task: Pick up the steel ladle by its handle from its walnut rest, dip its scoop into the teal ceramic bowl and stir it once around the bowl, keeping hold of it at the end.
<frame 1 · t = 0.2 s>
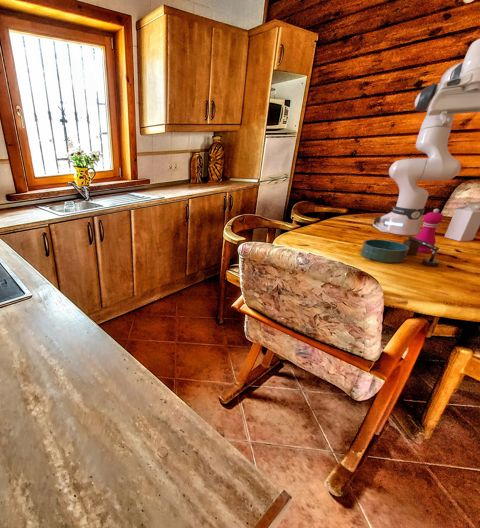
hand: (464, 123, 95), 54 cm above the table, tool tilted 30°, fingers open, 8 cm apart
ladle: (429, 265, 116), on the table, touching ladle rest
bowl: (381, 257, 126), on the table
milk carton: (457, 239, 142), on the table
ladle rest: (407, 254, 127), on the table
pepper mill: (420, 251, 130), on the table
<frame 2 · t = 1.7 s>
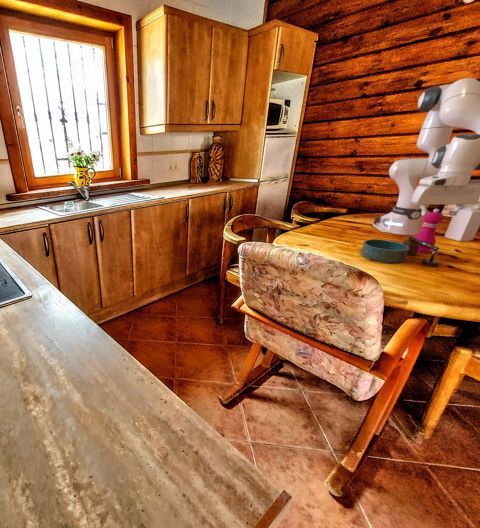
hand: (438, 215, 112), 20 cm above the table, tool pointing down, fingers open, 8 cm apart
nothing on the table moved.
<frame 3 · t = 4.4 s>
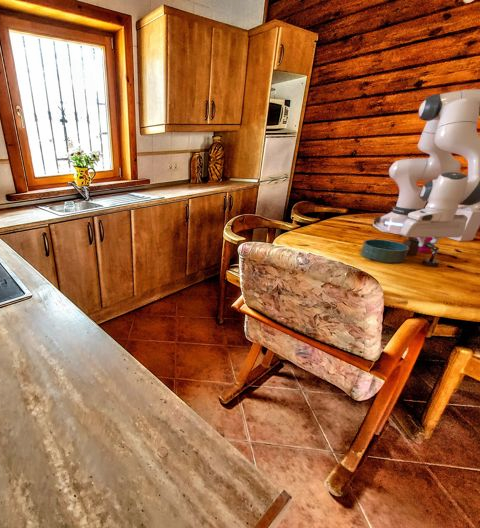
hand: (425, 246, 118), 6 cm above the table, tool pointing down, fingers closed on ladle
ladle: (429, 264, 116), on the table, touching gripper
everything else where it was.
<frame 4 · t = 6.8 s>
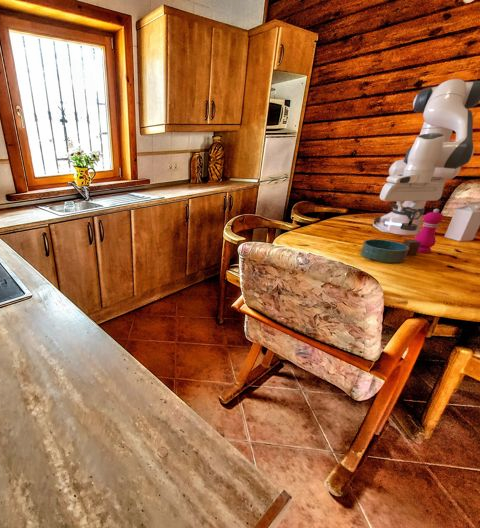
hand: (404, 211, 118), 21 cm above the table, tool pointing down, fingers closed on ladle
ladle: (408, 229, 115), point 15 cm above the table, touching gripper
everything else where it was.
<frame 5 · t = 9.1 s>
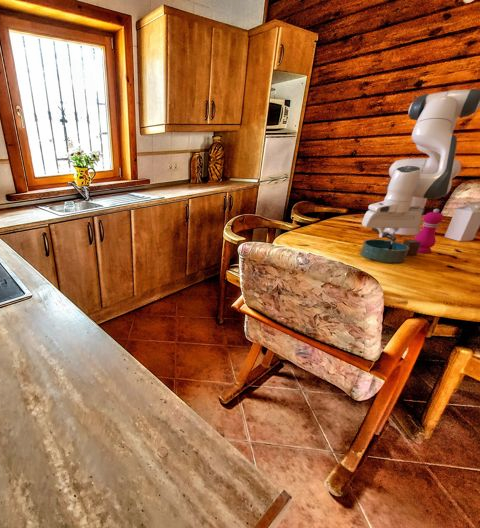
hand: (385, 237, 124), 9 cm above the table, tool pointing down, fingers closed on ladle
ladle: (388, 254, 122), point 2 cm above the table, touching gripper
everything else where it was.
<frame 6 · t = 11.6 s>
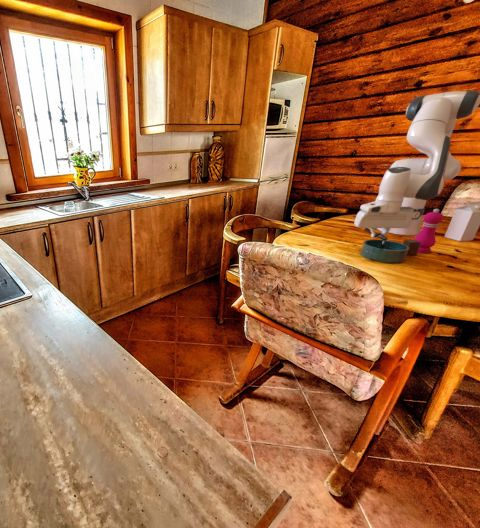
hand: (377, 237, 126), 9 cm above the table, tool pointing down, fingers closed on ladle
ladle: (379, 254, 124), point 2 cm above the table, touching gripper
everything else where it was.
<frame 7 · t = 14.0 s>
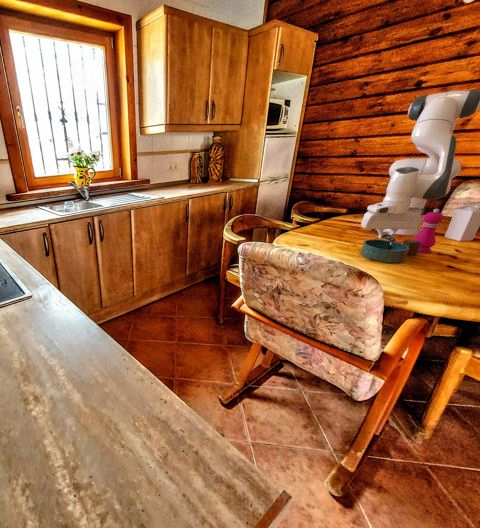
hand: (384, 238, 124), 8 cm above the table, tool pointing down, fingers closed on ladle
ladle: (387, 255, 122), point 2 cm above the table, touching gripper
everything else where it was.
at the end: ladle inside the target area in the bowl (3.0 cm from its centre), point 2.0 cm above the bowl's base; the gripper is holding ladle; ladle moved 14.1 cm from its start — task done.
